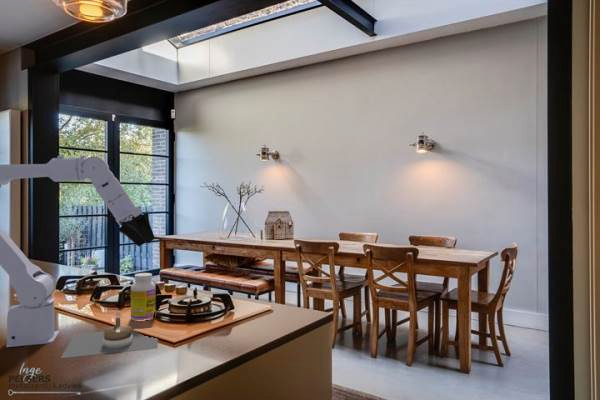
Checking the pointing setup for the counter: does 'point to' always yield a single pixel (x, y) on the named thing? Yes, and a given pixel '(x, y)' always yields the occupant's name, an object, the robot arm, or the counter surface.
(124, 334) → the cap
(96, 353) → the mat
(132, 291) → the supplement bottle
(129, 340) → the jar
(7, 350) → the counter surface
